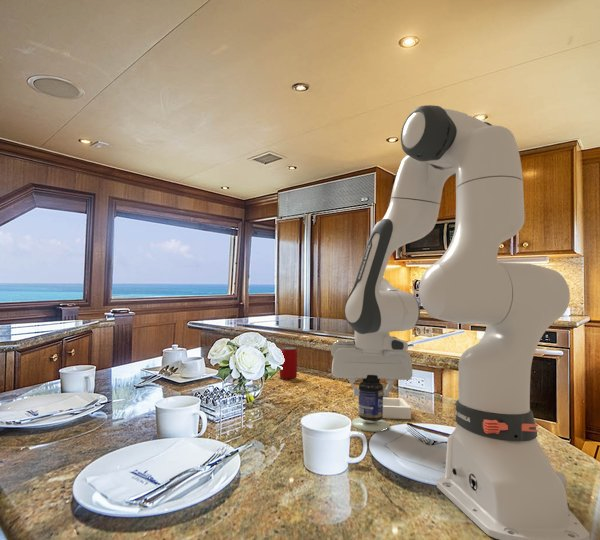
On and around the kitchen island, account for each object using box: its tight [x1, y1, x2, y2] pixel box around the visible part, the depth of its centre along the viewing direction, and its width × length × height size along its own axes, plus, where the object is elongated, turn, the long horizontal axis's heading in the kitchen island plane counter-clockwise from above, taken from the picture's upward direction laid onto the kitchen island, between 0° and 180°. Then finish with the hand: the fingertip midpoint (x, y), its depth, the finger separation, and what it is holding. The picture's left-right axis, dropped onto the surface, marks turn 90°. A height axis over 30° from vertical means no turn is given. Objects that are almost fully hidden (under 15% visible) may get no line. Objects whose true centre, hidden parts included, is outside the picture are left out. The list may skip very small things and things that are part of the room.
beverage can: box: [279, 346, 298, 380], centre depth 154 cm, size 7×7×12 cm
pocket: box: [382, 397, 412, 420], centre depth 110 cm, size 10×10×3 cm
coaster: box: [351, 416, 389, 433], centre depth 99 cm, size 9×9×1 cm
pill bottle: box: [358, 375, 384, 421], centre depth 99 cm, size 6×6×11 cm
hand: (370, 396), depth 99 cm, fingers closed on pill bottle, 6 cm apart
